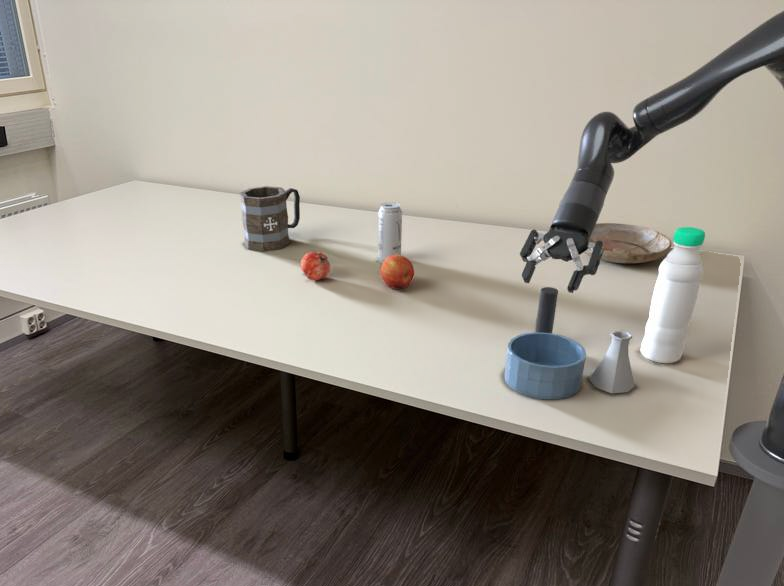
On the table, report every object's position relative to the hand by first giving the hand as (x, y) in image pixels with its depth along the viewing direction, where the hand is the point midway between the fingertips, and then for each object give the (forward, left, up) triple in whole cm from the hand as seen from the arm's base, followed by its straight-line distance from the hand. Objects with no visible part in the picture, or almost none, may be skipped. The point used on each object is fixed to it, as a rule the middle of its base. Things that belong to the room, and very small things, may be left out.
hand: (547, 286), depth 126 cm
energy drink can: (+55, -15, -14) cm, 59 cm away
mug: (+91, -4, -14) cm, 92 cm away
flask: (-17, +3, -14) cm, 22 cm away
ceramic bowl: (+14, -58, -14) cm, 62 cm away
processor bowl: (-7, +10, -13) cm, 18 cm away
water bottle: (-18, -13, -14) cm, 26 cm away
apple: (+41, -3, -14) cm, 44 cm away
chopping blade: (0, -2, -13) cm, 14 cm away
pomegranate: (+60, +7, -14) cm, 62 cm away
